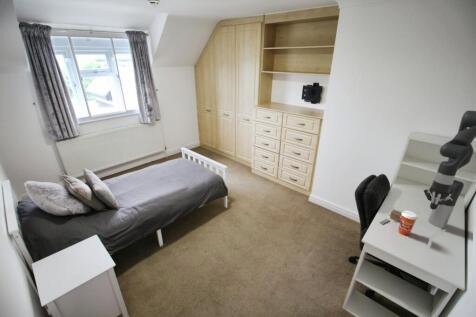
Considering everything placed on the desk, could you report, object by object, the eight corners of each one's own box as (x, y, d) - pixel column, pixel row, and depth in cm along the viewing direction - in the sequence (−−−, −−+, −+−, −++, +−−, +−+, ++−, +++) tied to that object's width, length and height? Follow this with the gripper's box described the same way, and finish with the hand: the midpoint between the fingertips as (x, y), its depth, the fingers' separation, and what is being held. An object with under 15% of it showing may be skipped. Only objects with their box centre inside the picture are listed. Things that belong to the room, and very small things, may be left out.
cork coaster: (392, 214, 158) (392, 213, 157) (404, 220, 151) (404, 219, 151) (385, 217, 154) (385, 216, 154) (397, 223, 147) (397, 223, 147)
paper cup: (395, 232, 139) (401, 214, 134) (397, 227, 144) (403, 208, 139) (410, 238, 134) (417, 219, 129) (412, 232, 139) (419, 213, 134)
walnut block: (391, 215, 156) (393, 209, 154) (400, 218, 152) (401, 212, 150) (389, 218, 152) (391, 212, 151) (398, 221, 149) (400, 215, 147)
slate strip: (386, 219, 152) (386, 218, 151) (389, 221, 150) (389, 220, 150) (379, 222, 148) (379, 222, 148) (382, 224, 146) (382, 223, 146)
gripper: (462, 184, 113) (450, 213, 119) (432, 174, 124) (422, 201, 130) (455, 187, 110) (443, 217, 116) (424, 177, 121) (415, 204, 127)
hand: (432, 208), depth 123 cm, fingers closed
